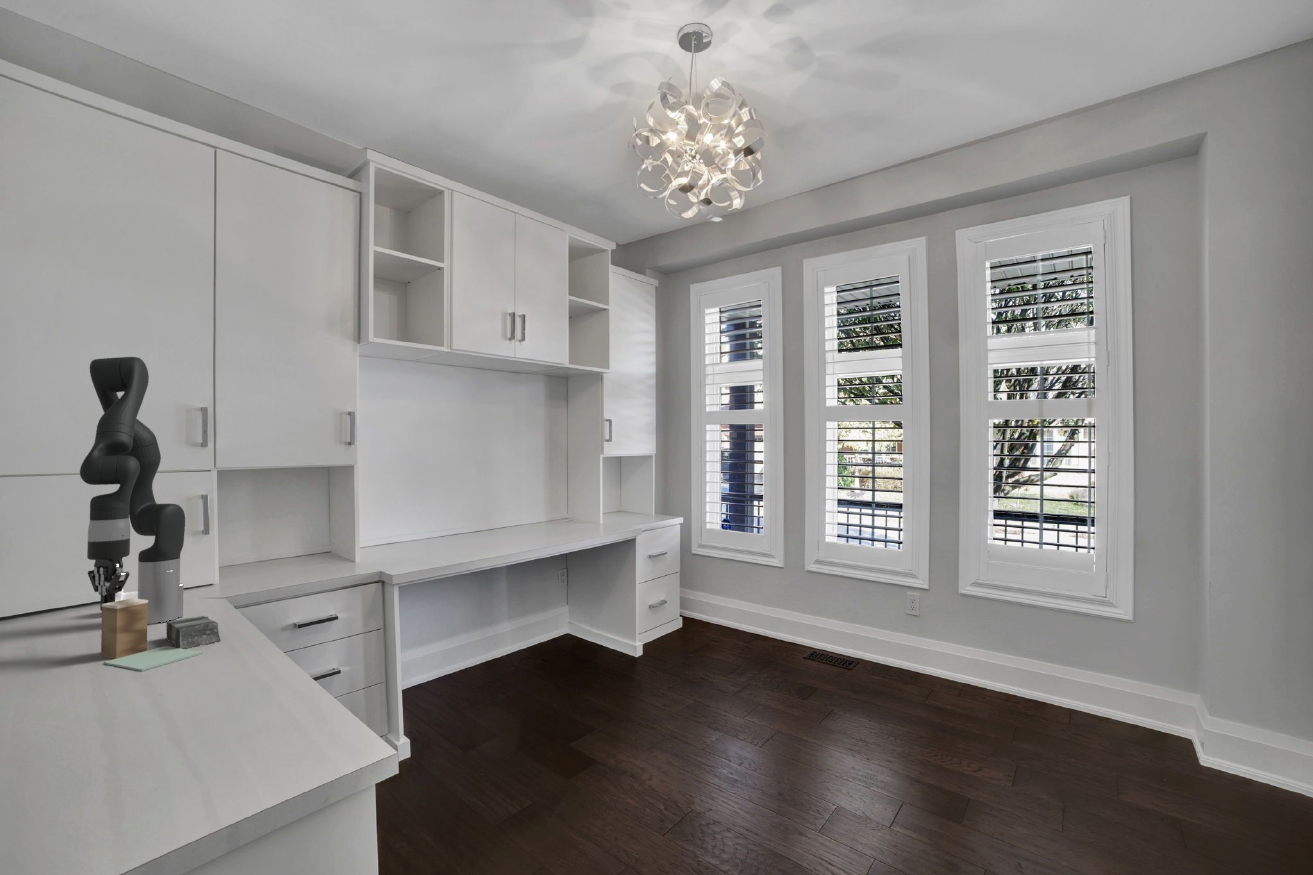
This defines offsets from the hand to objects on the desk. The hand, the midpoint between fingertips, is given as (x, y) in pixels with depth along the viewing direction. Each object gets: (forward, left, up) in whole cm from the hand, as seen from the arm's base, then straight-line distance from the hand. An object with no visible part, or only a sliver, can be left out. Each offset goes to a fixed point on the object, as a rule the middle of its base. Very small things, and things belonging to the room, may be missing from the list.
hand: (107, 610), depth 141 cm
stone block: (-13, +11, -10) cm, 20 cm away
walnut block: (0, +6, -10) cm, 12 cm away
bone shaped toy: (-26, -38, -10) cm, 47 cm away
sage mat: (0, +18, -10) cm, 20 cm away
